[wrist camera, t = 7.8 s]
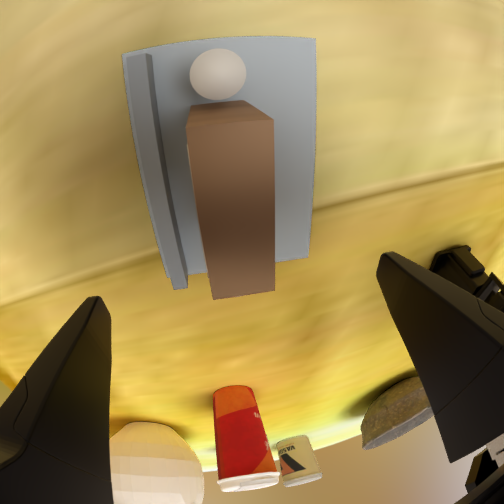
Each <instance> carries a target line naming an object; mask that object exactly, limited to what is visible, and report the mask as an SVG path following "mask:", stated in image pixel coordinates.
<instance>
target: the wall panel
mask: <svg viewBox="0 0 504 504" xmlns="http://www.w3.org/2000/svg"><path fill="white" fill-rule="evenodd" d="M122 60H123V70H124V78H125V86H126V94H127V101H128V108H129V115H130V121H131V127H132V133H133V138H134V144H135V149H136V154H137V160H138V165H139V169H140V174H141V179H142V183H143V188H144V192H145V197H146V201H147V205H148V209H149V213H150V217H151V221H152V225H153V229H154V233H155V237H156V240H157V244H158V248H159V251H160V255H161V258H162V262H163V265H164V269H165V272H166V275H167V278H169V277H170V279H171V282H172V286H173V289H174V290H177V289H185V288H188V275H191V274H198V273H206V272H207V269H206V264H205V258H204V253H203V247H202V241H201V235H200V230H199V224H198V218H197V211H196V205H195V199H194V192H193V186H192V179H191V172H190V165H189V158H188V150H187V135H186V124H187V120H188V116H189V112H190V107H191V105H198V104H206V103H215V102H225V101H236V100H245V101H246V102H248V103H249V104H251V105H253V106H254V107H256V108H257V109H259V110H260V111H262V112H263V113H265V114H266V115H268V116H269V117H271V118H272V119H274V155H275V262H281V261H288V260H294V259H301V258H308V254H309V243H310V231H311V218H312V203H313V187H314V167H315V142H316V39H315V38H303V37H284V36H242V37H224V38H211V39H201V40H193V41H185V42H178V43H172V44H166V45H160V46H155V47H150V48H145V49H141V50H136V51H132V52H128V53H124V54H122ZM237 297H239V296H237Z"/></svg>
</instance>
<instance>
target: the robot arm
mask: <svg viewBox="0 0 504 504" xmlns="http://www.w3.org/2000/svg"><path fill="white" fill-rule="evenodd" d="M470 251H471V248H470V247H469V246H464V247H460V248H456V249H451V250H447V251H442V252H439V253H437V254H436V256H435V258H434V261H433V263H432V266H431V268H430V271H429V270H428V269H426V268H424V267H422V266H420V265H418V264H416V263H415V262H413V261H411V260H409V259H407V258H405V257H403V256H401V255H399V254H397V253H395V252H393V251H391V252H385V253H383V254H382V255H381V257H380V261H379V264H378V268H377V272H376V277H377V280H378V283H379V285H380V288H381V290H382V293H383V295H384V298H385V301H386V303H387V306H388V309H389V311H390V314H391V316H392V318H393V320H394V322H395V325H396V327H397V329H398V331H399V333H400V335H401V337H402V339H403V341H404V344H405V346H406V348H407V350H408V352H409V355H410V357H411V359H412V362H413V364H414V366H415V368H416V371H417V373H418V376H419V378H420V380H421V383H422V385H423V388H424V390H425V393H426V395H427V398H428V401H429V403H430V406H431V408H432V411H433V414H434V415H435V416H434V417H435V420H436V423H437V425H438V428H439V431H440V434H441V437H442V440H443V443H444V446H445V449H446V453H447V456H448V459H449V462H450V463H453V462H455V461H457V460H459V459H461V458H462V457H464V456H466V455H468V454H470V453H472V452H474V451H475V450H477V449H479V448H481V447H482V446H484V445H486V446H487V448H485V449H484V450H483V451H482V452H480V453H479V454H478V455H477V456H475V457H474V459H473V462H472V465H471V469H470V472H469V475H468V478H467V481H466V484H465V487H466V490H467V492H468V494H467V495H466V496H464V497H463V498H462V499H460V500H459V501H458V502H456V503H454V504H504V284H503V282H502V281H501V280H500V279H499V278H498V277H497V276H496V275H495V274H494V273H493V272H491V274H490V275H489V276H488V275H487V274H486V273H485V272H484V271H485V268H484V266H483V265H482V264H481V263H480V262H479V261H478V260H477V259H476V258H475V257H474V256H473V255H472V254H471V253H470ZM499 289H501V291H500V292H498V291H499ZM111 364H112V355H111V316H110V313H109V311H108V309H107V307H106V306H105V304H104V302H103V300H102V298H101V297H100V296H92V297H88V298H87V299H86V300H85V301H84V302H83V303H82V304H81V305H80V307H79V308H78V309H77V310H76V311H75V312H74V313H73V315H72V316H71V317H70V318H69V319H68V320H67V322H66V323H65V324H64V325H63V326H62V328H61V329H60V330H59V331H58V332H57V334H56V335H55V336H54V337H53V339H52V340H51V341H50V342H49V344H48V345H47V346H46V347H45V349H44V350H43V351H42V352H41V354H40V355H39V356H38V358H37V359H36V360H35V362H34V363H33V364H32V366H31V367H30V368H29V370H28V371H27V372H26V374H25V376H23V378H22V379H21V380H20V382H19V383H18V385H17V386H16V387H15V389H14V390H13V391H12V393H11V394H10V396H9V397H8V398H7V399H6V401H5V402H4V403H3V405H2V406H1V407H0V504H114V500H113V491H112V482H111V468H110V446H109V405H110V381H111Z"/></svg>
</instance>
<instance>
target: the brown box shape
mask: <svg viewBox="0 0 504 504" xmlns="http://www.w3.org/2000/svg"><path fill="white" fill-rule="evenodd" d="M186 135H187V150H188V158H189V165H190V172H191V179H192V186H193V192H194V199H195V205H196V211H197V218H198V224H199V230H200V235H201V241H202V247H203V253H204V258H205V264H206V269H207V274H208V278H209V281H210V286H211V291H212V296H213V300H216V299H223V298H230V297H237V296H243V295H250V294H256V293H263V292H269V291H275V155H274V119H272V118H271V117H269V116H268V115H266V114H265V113H263V112H262V111H260V110H259V109H257V108H256V107H254V106H253V105H251V104H249V103H248V102H246V101H245V100H236V101H225V102H215V103H206V104H198V105H191V107H190V112H189V116H188V120H187V124H186Z"/></svg>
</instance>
